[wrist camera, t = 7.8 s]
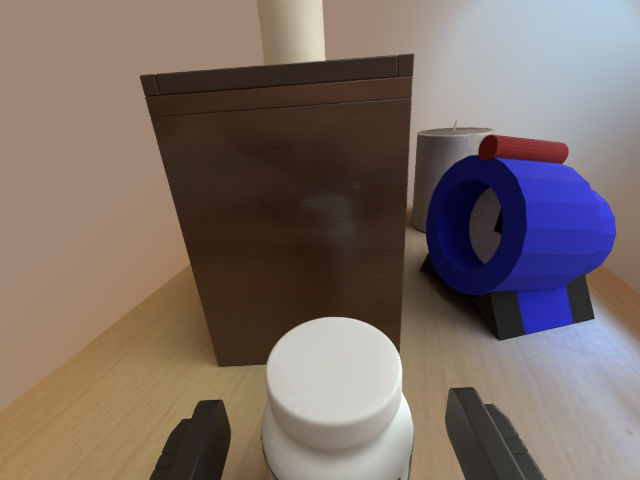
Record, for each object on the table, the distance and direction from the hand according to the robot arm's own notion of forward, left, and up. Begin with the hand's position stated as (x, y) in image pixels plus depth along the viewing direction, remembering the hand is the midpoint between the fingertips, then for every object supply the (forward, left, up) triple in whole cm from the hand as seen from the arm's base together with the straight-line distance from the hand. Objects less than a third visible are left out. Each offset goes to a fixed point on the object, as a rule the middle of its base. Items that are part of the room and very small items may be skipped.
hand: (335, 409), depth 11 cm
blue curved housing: (+24, -6, -8) cm, 26 cm away
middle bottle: (+22, +15, +11) cm, 29 cm away
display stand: (+22, +15, -8) cm, 28 cm away
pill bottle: (0, 0, -8) cm, 8 cm away
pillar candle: (+40, +2, -8) cm, 41 cm away
